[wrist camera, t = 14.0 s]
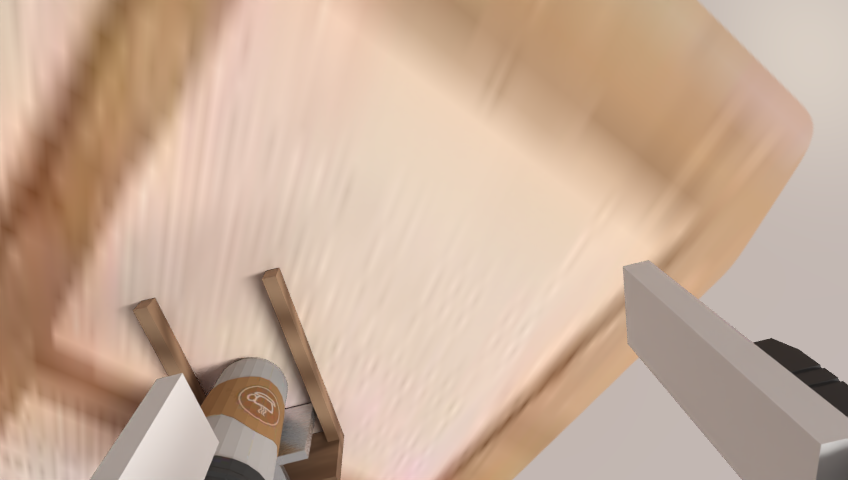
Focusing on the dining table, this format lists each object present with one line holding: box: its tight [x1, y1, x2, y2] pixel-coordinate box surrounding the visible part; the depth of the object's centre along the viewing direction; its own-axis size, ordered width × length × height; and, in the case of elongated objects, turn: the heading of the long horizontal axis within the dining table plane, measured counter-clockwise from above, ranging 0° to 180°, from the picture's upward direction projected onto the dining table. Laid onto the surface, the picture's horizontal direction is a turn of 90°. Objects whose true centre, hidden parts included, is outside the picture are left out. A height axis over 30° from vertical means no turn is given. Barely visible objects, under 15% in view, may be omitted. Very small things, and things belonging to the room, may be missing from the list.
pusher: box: [273, 403, 316, 480], centre depth 45 cm, size 4×9×6 cm, turn 102°
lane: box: [133, 268, 344, 480], centre depth 42 cm, size 20×12×6 cm, turn 13°
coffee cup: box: [201, 358, 288, 480], centre depth 39 cm, size 8×8×15 cm
